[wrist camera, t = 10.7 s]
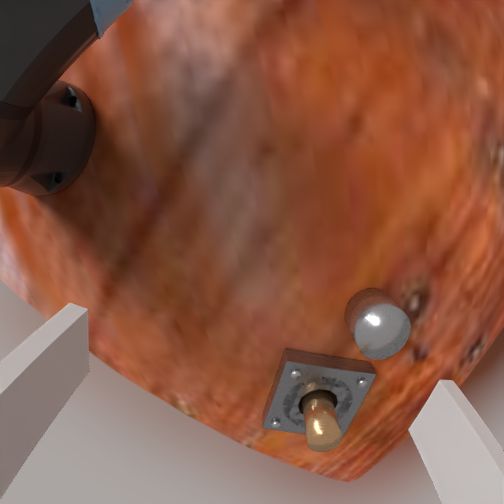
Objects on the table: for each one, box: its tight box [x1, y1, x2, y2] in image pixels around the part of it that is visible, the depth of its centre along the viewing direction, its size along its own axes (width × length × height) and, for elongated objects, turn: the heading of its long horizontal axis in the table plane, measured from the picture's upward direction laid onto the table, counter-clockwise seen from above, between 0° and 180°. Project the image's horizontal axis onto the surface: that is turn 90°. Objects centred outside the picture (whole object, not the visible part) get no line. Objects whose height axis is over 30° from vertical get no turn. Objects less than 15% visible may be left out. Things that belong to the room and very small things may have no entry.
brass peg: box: [301, 389, 342, 452], centre depth 36 cm, size 4×4×10 cm
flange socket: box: [262, 348, 376, 437], centre depth 39 cm, size 12×12×4 cm
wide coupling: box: [345, 288, 411, 360], centre depth 34 cm, size 6×6×6 cm
